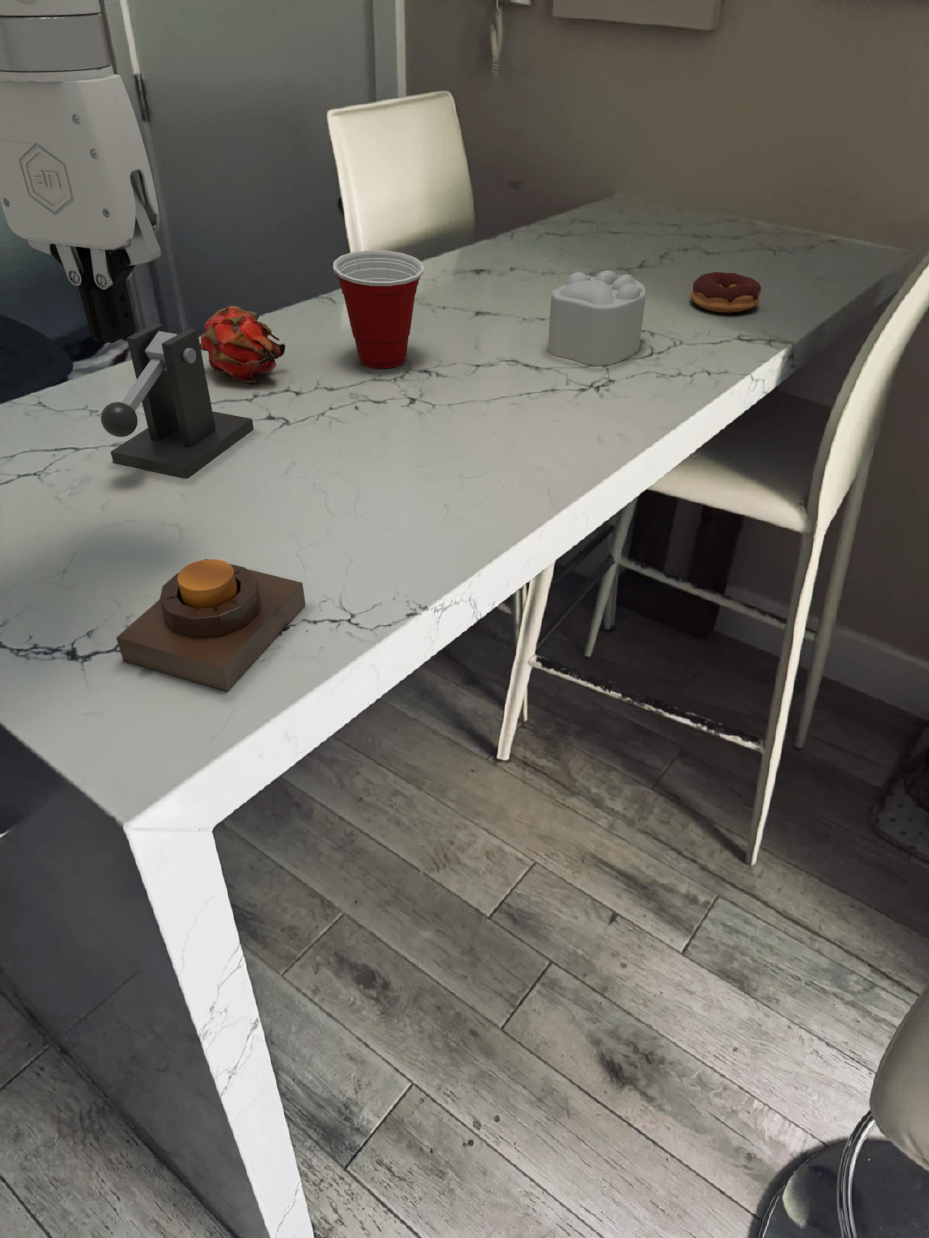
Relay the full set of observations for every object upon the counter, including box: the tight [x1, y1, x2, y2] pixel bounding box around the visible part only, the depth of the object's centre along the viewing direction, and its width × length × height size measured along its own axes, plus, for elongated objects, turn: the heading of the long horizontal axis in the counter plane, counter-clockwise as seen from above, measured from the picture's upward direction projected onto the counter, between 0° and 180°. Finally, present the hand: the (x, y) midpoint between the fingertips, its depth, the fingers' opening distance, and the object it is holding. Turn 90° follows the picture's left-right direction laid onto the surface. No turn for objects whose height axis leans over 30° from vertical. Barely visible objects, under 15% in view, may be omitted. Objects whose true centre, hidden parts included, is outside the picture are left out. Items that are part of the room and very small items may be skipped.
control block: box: [115, 558, 306, 692], centre depth 65 cm, size 11×9×4 cm
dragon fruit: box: [200, 305, 286, 384], centre depth 104 cm, size 8×8×12 cm
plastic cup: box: [332, 249, 425, 370], centre depth 106 cm, size 11×11×12 cm
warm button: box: [177, 558, 237, 609], centre depth 64 cm, size 4×4×2 cm
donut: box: [689, 271, 762, 314], centre depth 126 cm, size 10×10×4 cm
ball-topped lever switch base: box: [110, 322, 255, 479], centre depth 88 cm, size 12×9×12 cm
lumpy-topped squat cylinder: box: [547, 269, 647, 367], centre depth 112 cm, size 10×13×9 cm
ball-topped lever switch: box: [100, 331, 178, 438], centre depth 83 cm, size 12×3×3 cm, turn 159°
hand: (114, 335), depth 66 cm, fingers closed
